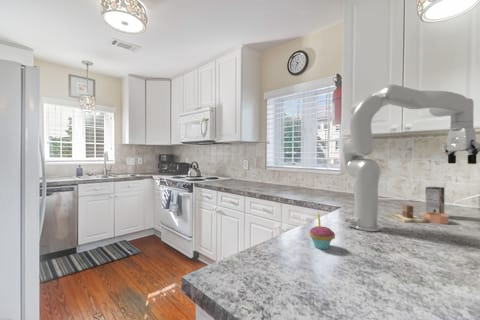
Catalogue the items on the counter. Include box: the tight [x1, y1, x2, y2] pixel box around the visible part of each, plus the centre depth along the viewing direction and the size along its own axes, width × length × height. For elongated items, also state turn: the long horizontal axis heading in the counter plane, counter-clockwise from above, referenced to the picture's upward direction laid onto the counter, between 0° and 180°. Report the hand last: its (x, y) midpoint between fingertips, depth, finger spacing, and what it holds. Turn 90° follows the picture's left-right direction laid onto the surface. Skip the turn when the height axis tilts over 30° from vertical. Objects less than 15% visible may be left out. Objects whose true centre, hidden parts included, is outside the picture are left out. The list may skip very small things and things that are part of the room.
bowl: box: [423, 211, 450, 225], centre depth 114 cm, size 9×9×4 cm
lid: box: [389, 204, 428, 224], centre depth 117 cm, size 11×11×7 cm
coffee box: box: [425, 186, 445, 214], centre depth 126 cm, size 9×6×16 cm
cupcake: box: [309, 212, 336, 250], centre depth 80 cm, size 9×8×12 cm
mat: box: [388, 215, 429, 224], centre depth 117 cm, size 12×12×1 cm
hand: (461, 163), depth 104 cm, fingers open, 9 cm apart
